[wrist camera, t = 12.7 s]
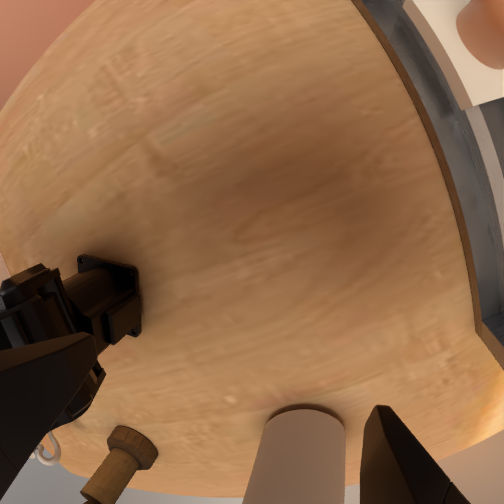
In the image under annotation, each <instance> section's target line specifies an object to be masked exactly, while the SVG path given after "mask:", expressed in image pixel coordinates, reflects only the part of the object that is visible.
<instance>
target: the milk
mask: <svg viewBox="0 0 504 504" xmlns="http://www.w3.org/2000/svg"><path fill="white" fill-rule="evenodd" d="M10 277H11V276H10V273H9V271H8V269H7V267H6V264H5V262H4V259H3V257H2V255H1V252H0V286H1V283H2V281H4V280H6V279H8V278H10Z"/></svg>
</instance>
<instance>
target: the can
mask: <svg viewBox="0 0 504 504" xmlns="http://www.w3.org/2000/svg"><path fill="white" fill-rule="evenodd" d="M344 493H345V430H344V427H343V425H342V424H341V423H340V422H339V420H337V419H336V418H334V417H332V416H331V415H329V414H326V413H323V412H320V411H317V410H311V409H299V410H292V411H288V412H285V413H282V414H279V415H276V416H275V417H274V418H272V419H271V420H269V421H268V423H267V424H266V426H265V428H264V430H263V434H262V438H261V441H260V445H259V449H258V452H257V456H256V459H255V463H254V466H253V470H252V473H251V476H250V480H249V483H248V486H247V490H246V493H245V496H244V499H243V503H242V504H344Z"/></svg>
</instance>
